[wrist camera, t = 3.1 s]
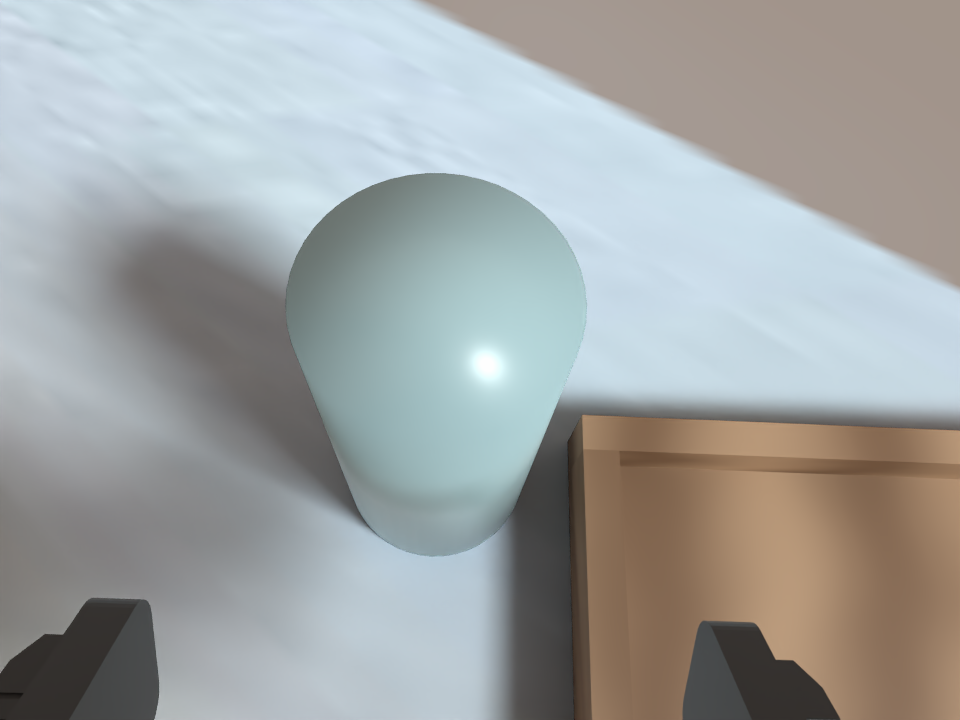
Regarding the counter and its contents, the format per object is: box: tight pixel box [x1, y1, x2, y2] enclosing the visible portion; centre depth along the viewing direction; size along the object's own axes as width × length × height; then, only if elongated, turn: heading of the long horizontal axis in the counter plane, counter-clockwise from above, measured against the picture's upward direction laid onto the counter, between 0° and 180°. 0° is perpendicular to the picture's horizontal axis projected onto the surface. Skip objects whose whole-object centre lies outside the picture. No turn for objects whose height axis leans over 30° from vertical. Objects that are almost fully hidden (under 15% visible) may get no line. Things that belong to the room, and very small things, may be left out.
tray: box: [568, 415, 960, 720], centre depth 21 cm, size 16×12×2 cm
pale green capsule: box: [285, 173, 587, 556], centre depth 19 cm, size 5×5×11 cm
